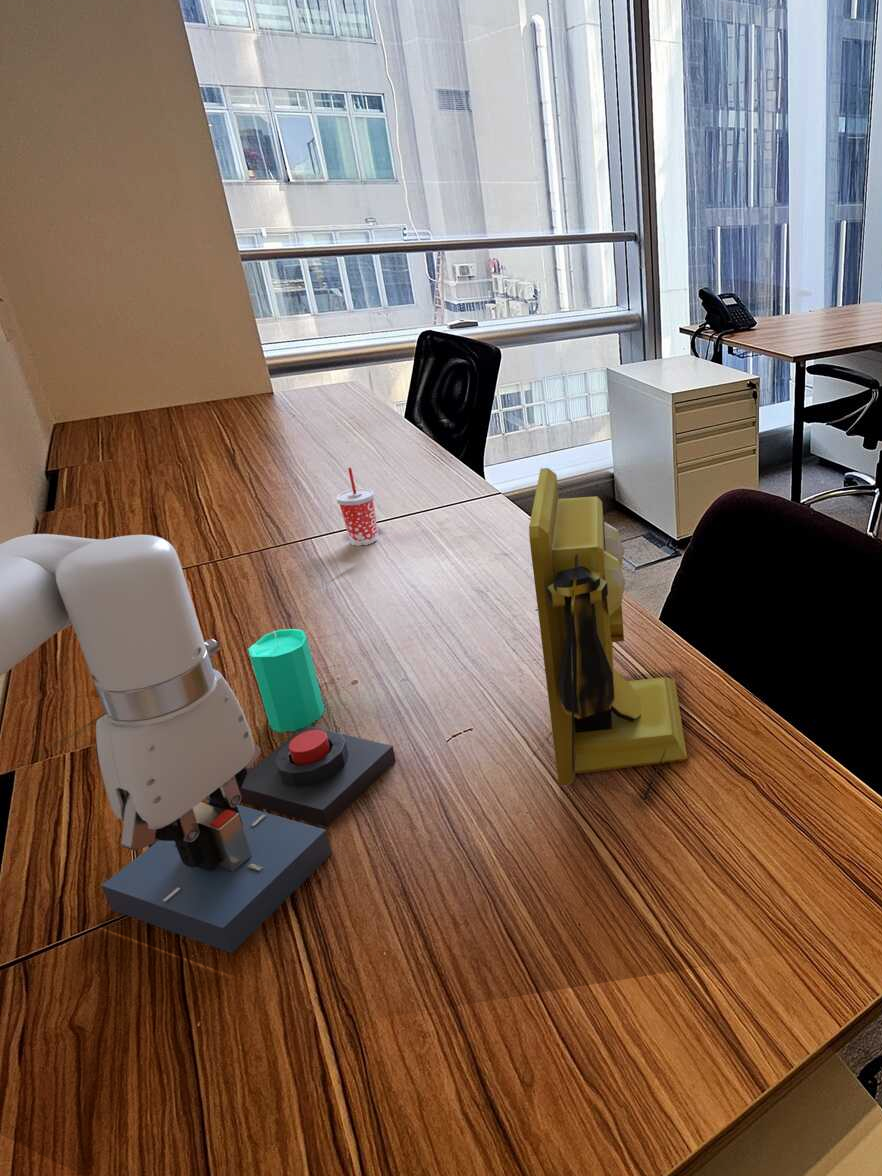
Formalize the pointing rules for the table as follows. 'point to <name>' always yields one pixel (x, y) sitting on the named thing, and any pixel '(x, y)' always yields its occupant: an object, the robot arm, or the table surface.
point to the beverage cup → (359, 514)
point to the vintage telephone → (592, 645)
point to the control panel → (220, 882)
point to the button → (309, 747)
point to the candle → (287, 679)
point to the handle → (224, 835)
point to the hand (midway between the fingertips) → (216, 851)
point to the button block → (317, 778)
